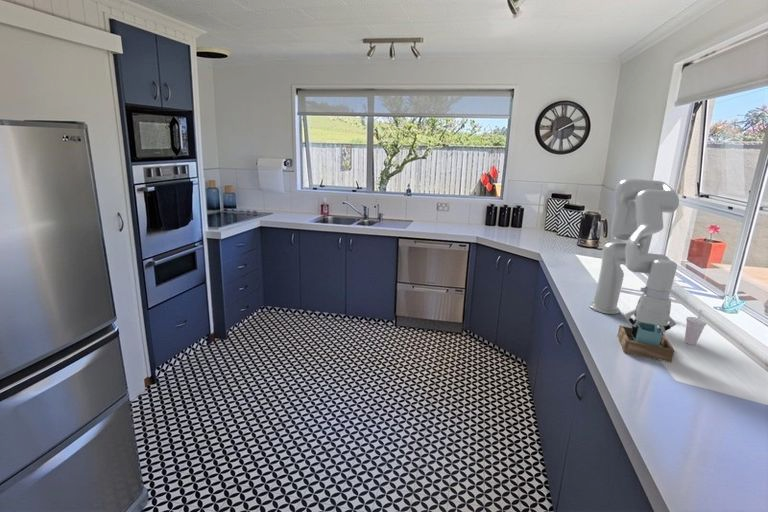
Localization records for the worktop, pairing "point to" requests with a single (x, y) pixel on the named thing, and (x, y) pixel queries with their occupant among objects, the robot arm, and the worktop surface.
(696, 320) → the smoothie
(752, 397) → the worktop surface
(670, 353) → the big crate
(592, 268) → the worktop surface
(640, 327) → the small crate
